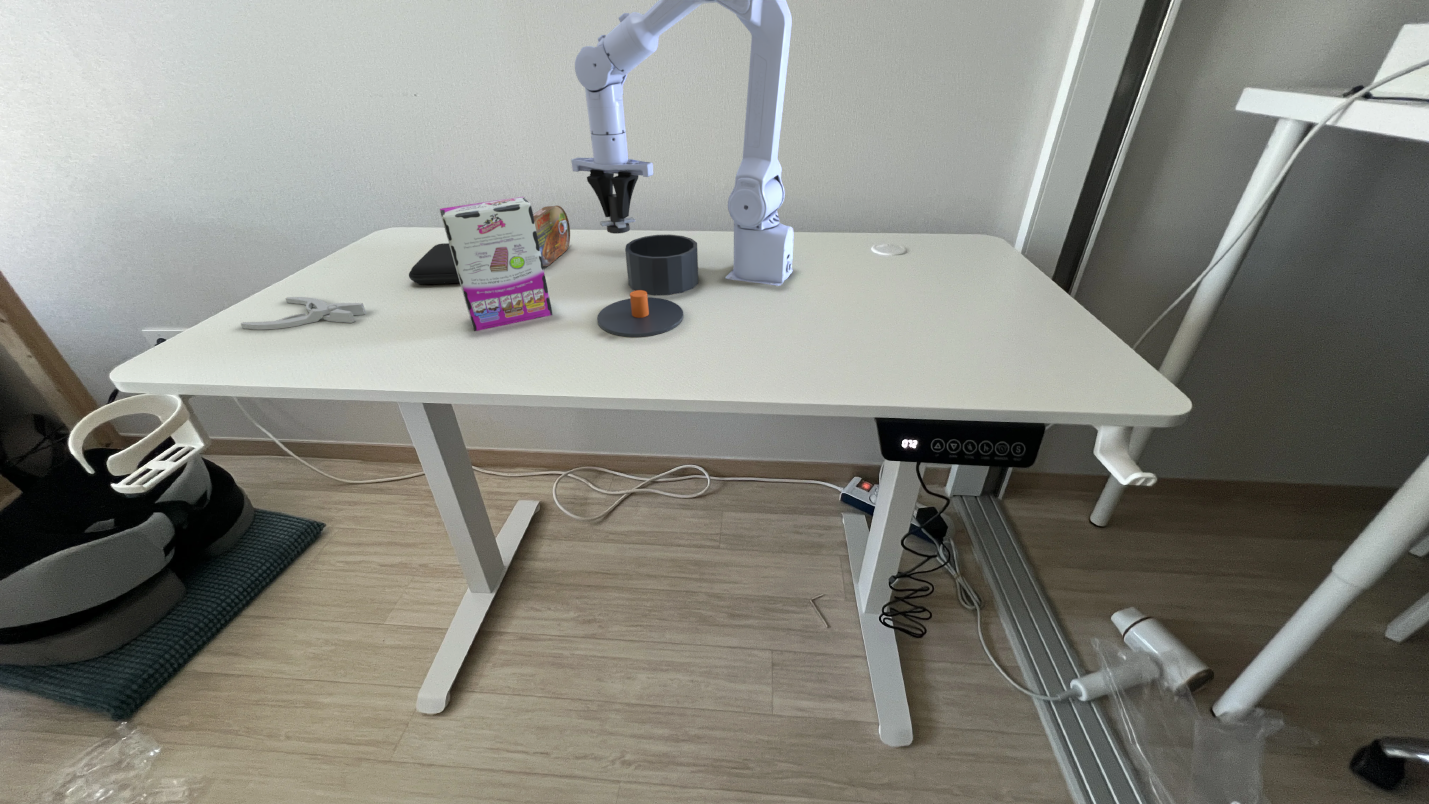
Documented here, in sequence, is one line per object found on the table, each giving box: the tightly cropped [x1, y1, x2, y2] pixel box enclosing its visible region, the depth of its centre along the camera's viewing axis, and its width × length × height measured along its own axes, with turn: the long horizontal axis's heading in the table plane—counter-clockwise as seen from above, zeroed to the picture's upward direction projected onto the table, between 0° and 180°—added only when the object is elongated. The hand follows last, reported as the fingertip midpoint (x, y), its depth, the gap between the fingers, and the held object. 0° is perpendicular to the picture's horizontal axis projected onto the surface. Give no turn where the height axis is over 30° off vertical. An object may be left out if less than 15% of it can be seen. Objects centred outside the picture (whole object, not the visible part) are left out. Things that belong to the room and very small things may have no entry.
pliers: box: [240, 296, 367, 331], centre depth 87 cm, size 10×2×15 cm
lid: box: [596, 290, 684, 338], centre depth 83 cm, size 12×12×4 cm
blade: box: [599, 193, 636, 235], centre depth 103 cm, size 5×5×6 cm
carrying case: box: [408, 242, 460, 285], centre depth 101 cm, size 11×3×15 cm
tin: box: [533, 205, 571, 267], centre depth 104 cm, size 15×3×8 cm, turn 168°
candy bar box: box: [439, 196, 554, 332], centre depth 81 cm, size 11×5×16 cm, turn 117°
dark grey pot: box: [624, 234, 699, 296], centre depth 94 cm, size 11×11×6 cm
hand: (617, 216), depth 103 cm, fingers closed on blade, 2 cm apart
